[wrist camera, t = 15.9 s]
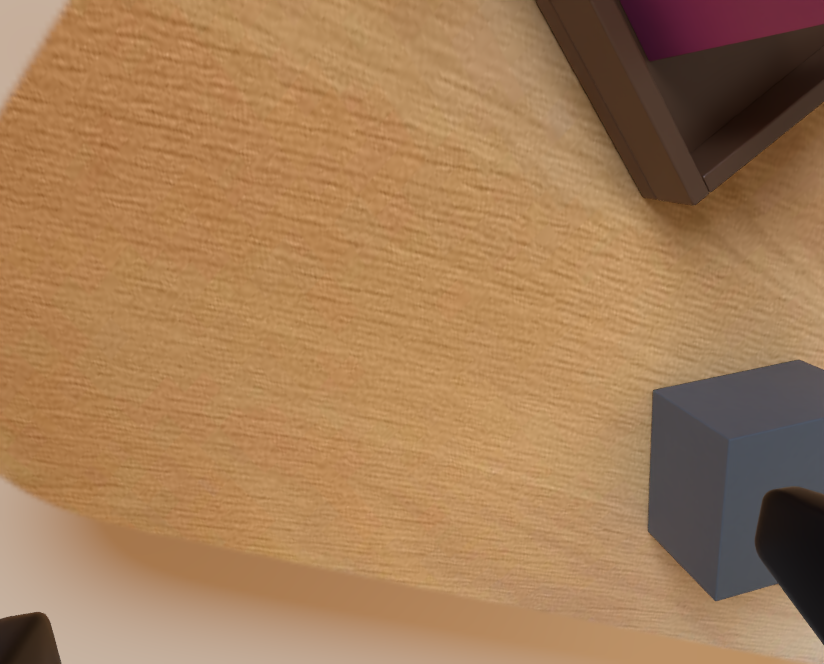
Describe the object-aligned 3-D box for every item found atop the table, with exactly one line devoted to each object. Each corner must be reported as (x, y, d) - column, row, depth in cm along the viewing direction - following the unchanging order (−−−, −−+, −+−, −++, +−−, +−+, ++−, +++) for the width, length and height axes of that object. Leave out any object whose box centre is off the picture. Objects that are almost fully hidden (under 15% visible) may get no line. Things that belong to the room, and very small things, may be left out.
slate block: (647, 531, 24) (715, 602, 20) (652, 389, 22) (729, 439, 18) (781, 497, 25) (869, 558, 21) (798, 358, 23) (899, 400, 19)
